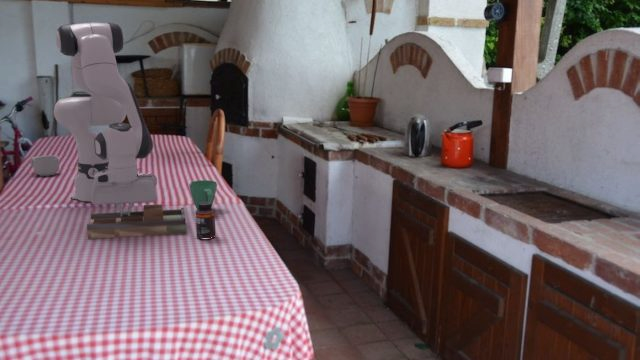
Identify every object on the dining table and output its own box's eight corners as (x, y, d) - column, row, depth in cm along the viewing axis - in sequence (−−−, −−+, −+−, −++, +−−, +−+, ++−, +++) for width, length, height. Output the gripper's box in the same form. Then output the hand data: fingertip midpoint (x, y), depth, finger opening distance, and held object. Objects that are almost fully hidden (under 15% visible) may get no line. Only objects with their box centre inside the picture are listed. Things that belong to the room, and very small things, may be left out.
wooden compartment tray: (91, 226, 210) (91, 212, 209) (184, 221, 217) (183, 207, 216) (87, 238, 197) (86, 223, 196) (186, 233, 205) (185, 218, 204)
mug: (187, 207, 234) (186, 181, 232) (213, 205, 238) (212, 179, 236) (197, 218, 221) (196, 190, 219) (224, 215, 225) (224, 188, 223)
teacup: (65, 174, 285) (63, 157, 283) (43, 178, 276) (42, 160, 274) (45, 170, 292) (44, 153, 290) (24, 174, 283) (22, 157, 281)
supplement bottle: (213, 233, 205) (212, 199, 202) (217, 239, 199) (216, 204, 197) (194, 235, 203) (193, 201, 200) (198, 241, 197) (197, 206, 195)
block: (144, 218, 210) (143, 205, 209) (163, 217, 211) (162, 204, 210) (144, 223, 204) (143, 210, 203) (163, 222, 206) (162, 209, 205)
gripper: (156, 171, 207) (158, 211, 211) (90, 173, 203) (93, 215, 206) (156, 175, 202) (158, 217, 205) (88, 177, 197) (91, 220, 200)
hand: (125, 216), depth 205 cm, fingers closed
